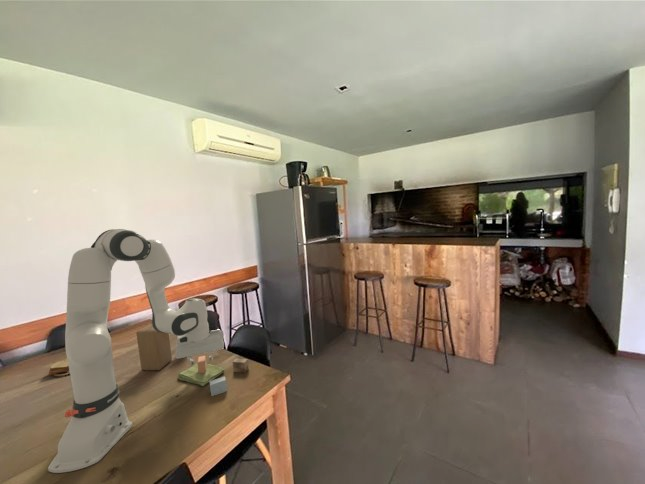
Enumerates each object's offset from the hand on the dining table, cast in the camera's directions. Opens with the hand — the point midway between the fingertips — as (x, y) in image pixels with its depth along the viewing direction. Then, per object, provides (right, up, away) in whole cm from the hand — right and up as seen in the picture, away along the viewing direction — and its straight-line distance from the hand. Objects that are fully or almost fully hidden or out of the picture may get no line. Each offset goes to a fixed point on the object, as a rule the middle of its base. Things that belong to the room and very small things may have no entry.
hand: (201, 362), depth 126 cm
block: (-27, -7, +12) cm, 31 cm away
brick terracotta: (0, -4, 0) cm, 4 cm away
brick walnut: (+17, -5, +2) cm, 18 cm away
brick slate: (+13, -7, -13) cm, 19 cm away
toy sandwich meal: (-72, -10, +12) cm, 74 cm away
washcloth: (0, -7, 0) cm, 7 cm away
